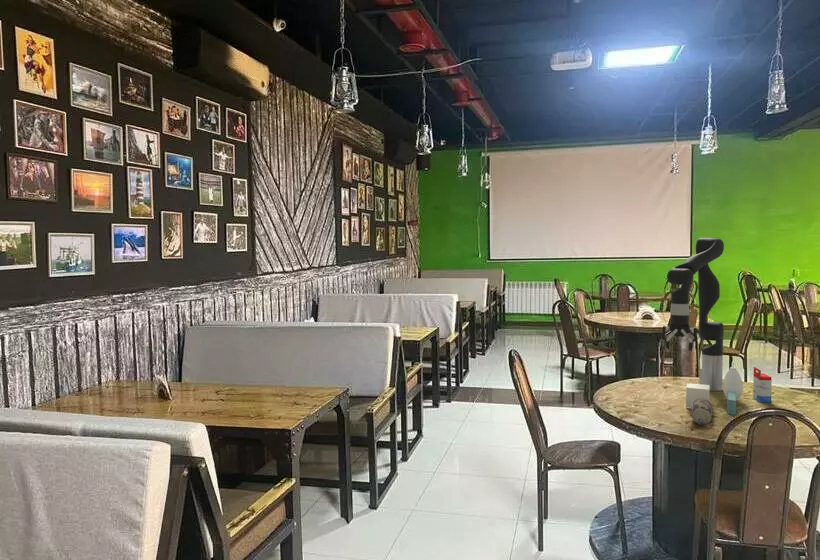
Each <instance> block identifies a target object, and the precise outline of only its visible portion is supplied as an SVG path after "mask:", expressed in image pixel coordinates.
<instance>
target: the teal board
mask: <svg viewBox="0 0 820 560" xmlns="http://www.w3.org/2000/svg"><path fill="white" fill-rule="evenodd" d="M726 409H727V414H728V415H733V416H734V415H735V416H736V415H737V401H736V396H735V392H730V391H727V398H726Z"/></svg>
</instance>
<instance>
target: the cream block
mask: <svg viewBox="0 0 820 560" xmlns="http://www.w3.org/2000/svg"><path fill="white" fill-rule="evenodd" d="M685 388H686V390H685V391H686V392H685V394H686V395H685V397H686V398H685V408H686V407H691V408H690V409H693V402H694V401H695V400H696V399H699V398H703V399H706V400H708V401H710V390H709V385H703V384H699V383H688V382H687V383H686V387H685Z"/></svg>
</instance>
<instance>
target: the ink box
mask: <svg viewBox="0 0 820 560" xmlns="http://www.w3.org/2000/svg"><path fill="white" fill-rule="evenodd" d="M772 380H773V378H772V376H770V375H768V374H766V373H764V372H762V370H761V369H759V368H757V367H755V366H754V367H753V380H752V381H753V385H752V386H753V390H752V391H753V392H752V396H753V397H752V398H753V399H754V400H756V401H757V402H759V403H763V404H767V403H768V404H770V403H772Z"/></svg>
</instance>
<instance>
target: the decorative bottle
mask: <svg viewBox="0 0 820 560" xmlns="http://www.w3.org/2000/svg"><path fill="white" fill-rule="evenodd" d="M712 413H713V404H712V403H711V401H710V400H709V401H708V400H706V399H703V398H699V399H696V400H695V401H694V402H693V408H691V414H690V415H689V416H690V417H691V418H692V420H693V421H694V422H695V423H696V424H697V423H698V425H708V424H709V423H710V422H711V420H712Z"/></svg>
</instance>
